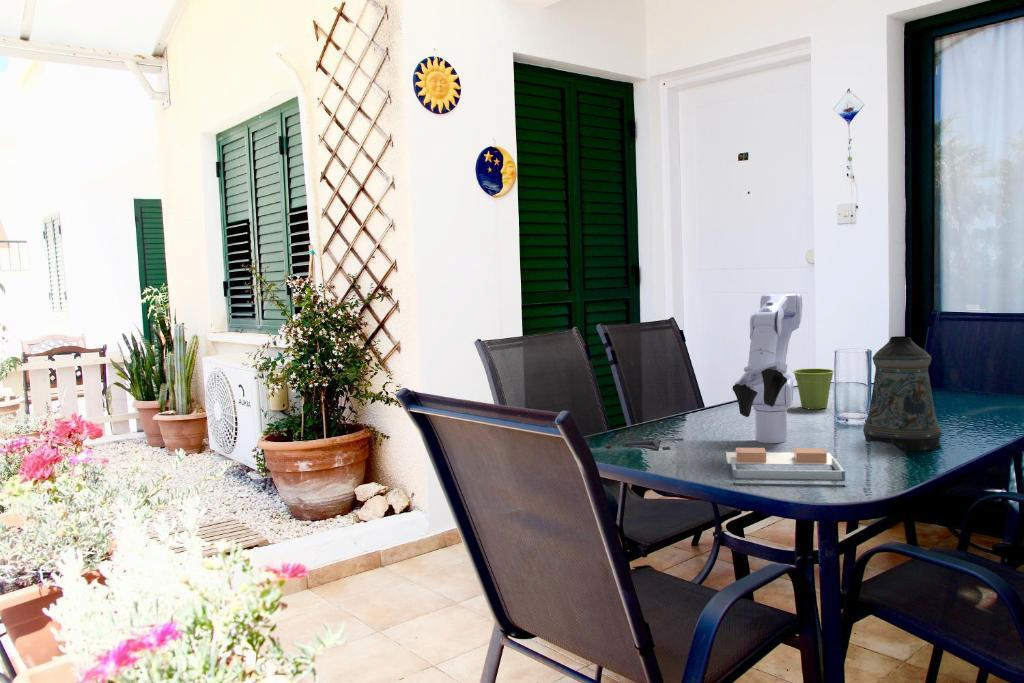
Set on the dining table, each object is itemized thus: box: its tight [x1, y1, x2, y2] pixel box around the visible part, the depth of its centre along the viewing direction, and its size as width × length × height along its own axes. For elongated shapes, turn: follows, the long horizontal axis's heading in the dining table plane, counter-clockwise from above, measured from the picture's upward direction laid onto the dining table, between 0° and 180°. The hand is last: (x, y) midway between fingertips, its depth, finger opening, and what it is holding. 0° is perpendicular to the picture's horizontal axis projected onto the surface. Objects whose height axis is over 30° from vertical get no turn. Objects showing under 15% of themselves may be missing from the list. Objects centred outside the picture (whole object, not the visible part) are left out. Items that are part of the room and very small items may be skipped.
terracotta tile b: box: [792, 447, 828, 463], centre depth 169 cm, size 5×6×2 cm
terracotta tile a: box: [735, 447, 767, 462], centre depth 172 cm, size 5×6×2 cm
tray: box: [730, 457, 846, 488], centre depth 161 cm, size 12×21×3 cm, turn 77°
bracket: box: [624, 437, 684, 451], centre depth 192 cm, size 14×15×3 cm
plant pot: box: [792, 367, 835, 410], centre depth 240 cm, size 12×12×11 cm
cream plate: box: [725, 451, 834, 466], centre depth 172 cm, size 11×22×2 cm, turn 77°
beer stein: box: [862, 335, 943, 451], centre depth 188 cm, size 16×19×25 cm
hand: (756, 409), depth 173 cm, fingers open, 7 cm apart
